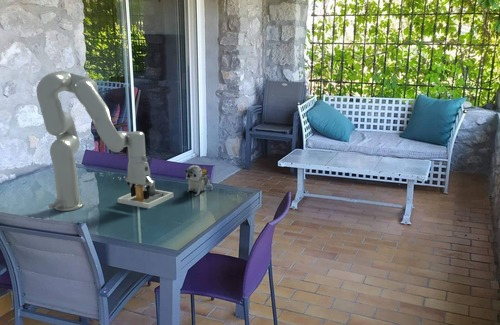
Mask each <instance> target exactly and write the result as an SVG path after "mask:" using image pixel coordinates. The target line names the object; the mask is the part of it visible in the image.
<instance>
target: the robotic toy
mask: <svg viewBox="0 0 500 325" xmlns="http://www.w3.org/2000/svg"><path fill="white" fill-rule="evenodd" d="M207 168H208V167H206V166H204V167H202V168H201V167H200V166H199V165H197V164H196V165H190V166H189V167H188V168H187V167H186V168H185V170H184V173H185V175H186V176H185V180H187V184H188V190H187V191H186V192H187V193H189V192H194V193H196V194H194V196H195V197H197V196H199V195H200V193H201V192H203V191H204V190H205V189H206V188H208V187H209V188H210V190H211V191H213V190H214V186H213V184H212V183H211V182H210V174H208V171H209V170H208V169H207Z"/></svg>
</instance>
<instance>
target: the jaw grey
mask: <svg viewBox="0 0 500 325" xmlns="http://www.w3.org/2000/svg"><path fill="white" fill-rule="evenodd" d="M151 180H152V181H153V182H154V184H153V185H152V187H151V188H150V189H149V196H151V197H153V196H155V195H156V194H155V190H156V186H155V185H156V182H155V180H154V179H151ZM148 184H149V183H148Z"/></svg>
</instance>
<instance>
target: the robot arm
mask: <svg viewBox="0 0 500 325" xmlns="http://www.w3.org/2000/svg"><path fill="white" fill-rule="evenodd" d="M62 92H69V93H72V94H74V95H75V97H76V99H77V100H78V101H79V103H80V104H81V105H82V107H83V108H84V109H85V111H86V112H87V114H88V116H89V117H90V119H91V120H92V123H93V126H94V127H95V130H96V132H97V135H98V136H99V137H100V139H101V141H102V142H103V144H104V145H105V146H106V147H107V149H109V150H110V151H112V152H115V153H119V152H121V151H123V149H124V148H126V147H127V151H128V152H127V153H128V163H127V176H126V177H125V178H124V181H125V182H126V184H127V185H128V188H129V189H130V193H131V197H134V196H136V189H135V185H137V184H139V185H142V186H143V188H144V191H143V196H144V199H147V198H149V189H150V188H151V187H152V185H153V184H154V182H153V181H152V180H153V179H152V176H151V170H150V165H149V163H148V157H147V152H146V138H145V133H144V132H143V131H139V130H137V131H135V130H134V131H127V130H126V131H124V130H117V129H116V127H115V126H114V124H113V122H112V120H111V113H110V109H109V107H108V105H107V104H106V102H105V101H104V100H103V98H102V96H101V95H100V94H99V86H98V84H97V82H96V81H95V80H94V79H93V78H90V77H86V76H82V75H79V74H75V73H73V72H69V71H66V70H64V71H63V70H61V71H60V70H59V71H54V72H51V73H48V74H46V75H45V76H44V77H42V78H41V79H40V81H39V82H38V84H37V87H36V98H37V100H38V105H39V108H40V111H41V115H42V120H43V122H44V126H45V129H46V131H47V133H48V134H50V135H51V136H52V137H53V136H54V137H55V138H56V140H54V141H53V142H52V143H51V145H50V147H49V148H50V149H49V154H50V159H51V162H52V166H53V174H54V183H55V193H56V198H55V199H54V202H51V203H49V204H48V208H49V209H53V208H54V210H56V211H59V212H60V211H61V212H70V211H74V210H79V209H80V208H83V207H84V205H85V202H84V201H83V200H81V199H80V188H79V179H78V178H79V177H78V170H77V163H76V160H75V154H76V153H77V152H78V151H79V149H80V140H79V139H80V138H79V135H78V131H77V128H76V124H75V121H74V119H73V117H72V115H71V114H69V113H68V112H67V111H64V110H63V106H62V103H61V101H60V98H59V93H62ZM148 183H149V184H148Z"/></svg>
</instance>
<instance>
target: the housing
mask: <svg viewBox="0 0 500 325" xmlns="http://www.w3.org/2000/svg"><path fill="white" fill-rule="evenodd" d="M155 194H156V195H155V196H153V197H151V196H149V198H147V199H146V200H144V201H142V202H139V201H135V199H136V196H134V197H131V192H129V193H127V194H125V195H122V196H120V197H118V198H117V203H118V204H124V205H128V206H134V207H140V208H142V209H147V210H148V209H151V208H154V207H155V206H158V205H160V204H162V203H164V202H166V201H168V200H170V199H172V198H174V192H172V191H165V190H159V189H155Z"/></svg>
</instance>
